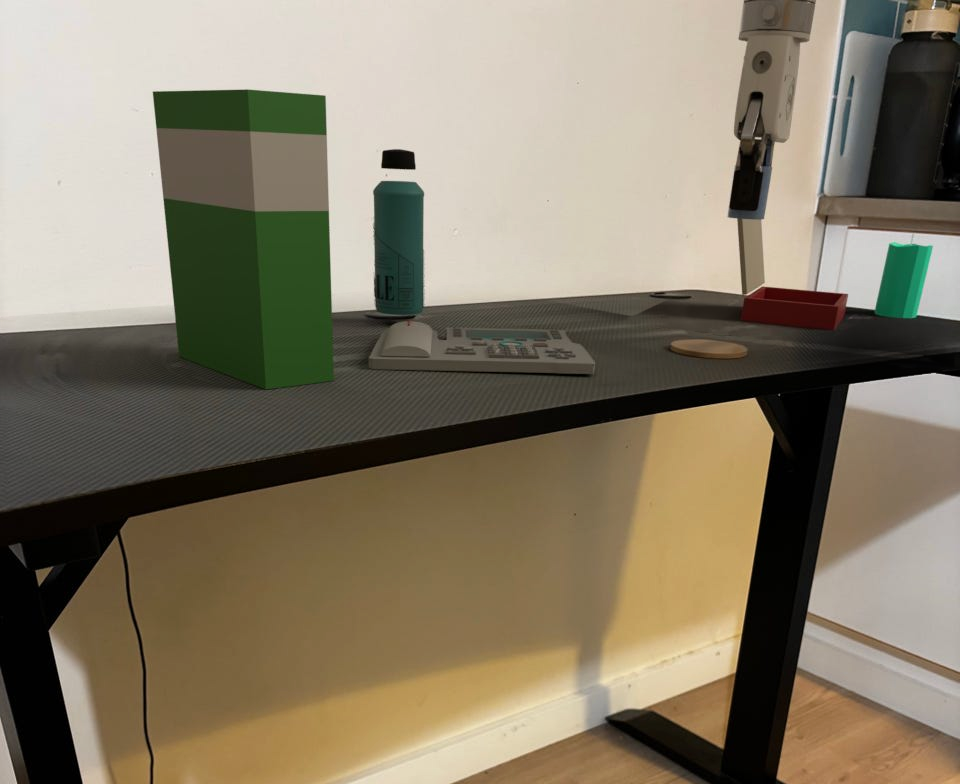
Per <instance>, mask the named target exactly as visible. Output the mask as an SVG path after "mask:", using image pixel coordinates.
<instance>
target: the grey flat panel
mask: <svg viewBox="0 0 960 784" xmlns="http://www.w3.org/2000/svg"><path fill="white" fill-rule="evenodd" d="M736 219H737V218H736ZM736 222H737V235H738V251H739V266H740V267H739V268H740V281H741V282H740V283H741V295H742V296H744V295H745V296H746V295H749V293H750V294H751V293H752V292H754V291H755V290H757V289H759V288H760V287H762V285H764V284H765V283H766V281H765V262H764V243H763V226H762V225H763V223H762V220H755V219H737V221H736Z"/></svg>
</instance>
